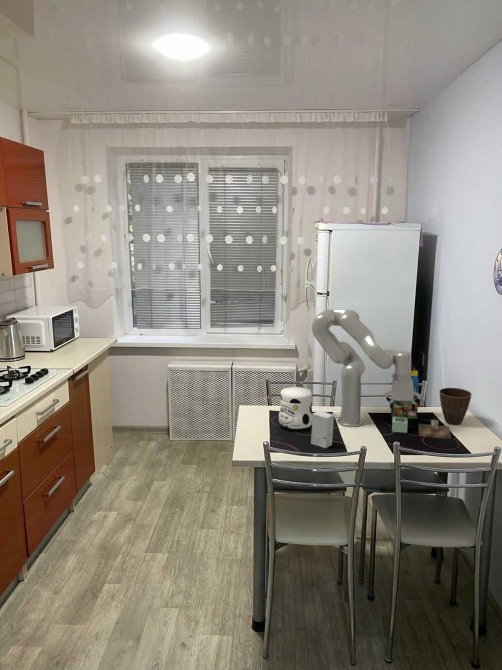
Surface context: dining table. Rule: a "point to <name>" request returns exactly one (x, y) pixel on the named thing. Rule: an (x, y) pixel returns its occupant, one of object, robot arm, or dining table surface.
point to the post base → (436, 433)
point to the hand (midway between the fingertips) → (402, 410)
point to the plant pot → (454, 404)
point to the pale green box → (399, 424)
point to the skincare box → (322, 429)
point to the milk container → (296, 408)
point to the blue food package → (407, 402)
